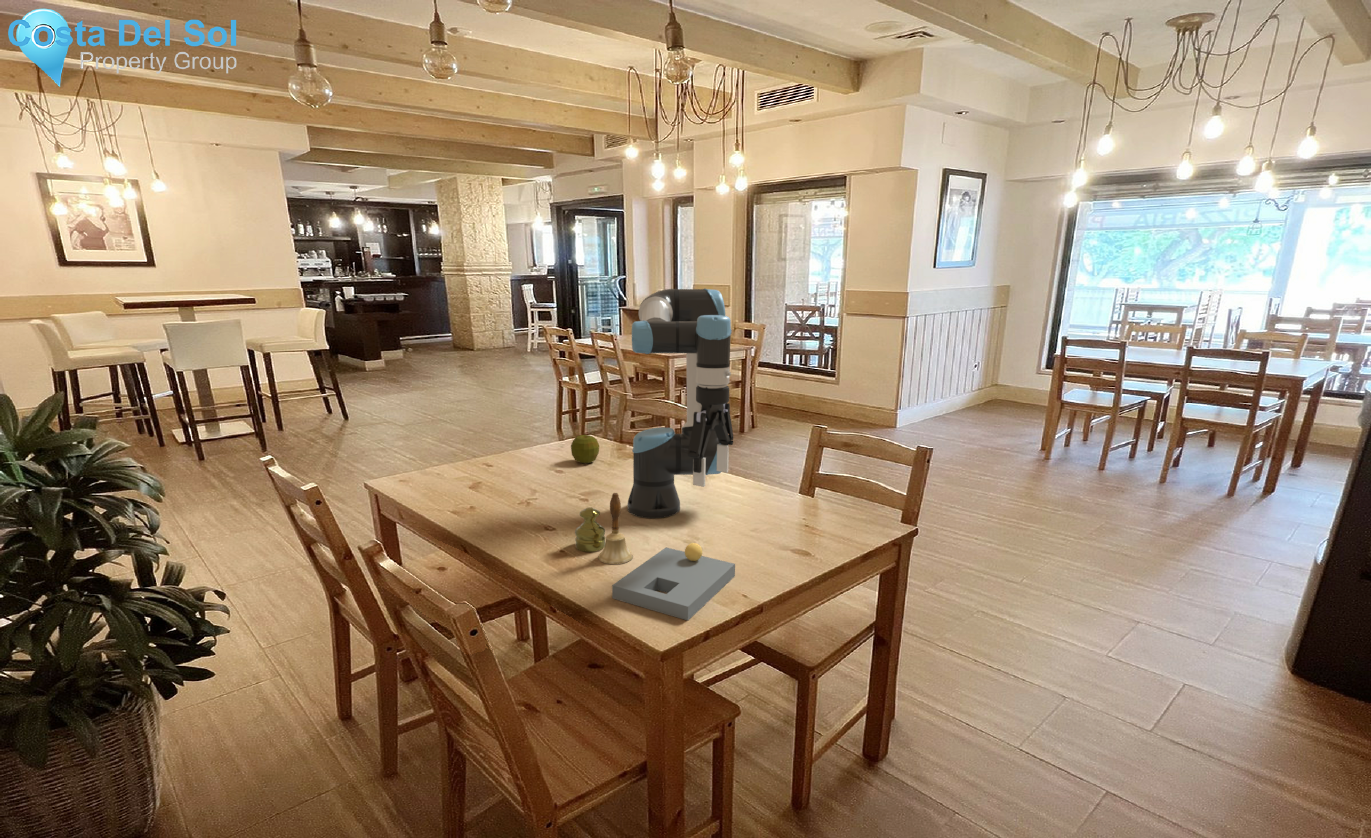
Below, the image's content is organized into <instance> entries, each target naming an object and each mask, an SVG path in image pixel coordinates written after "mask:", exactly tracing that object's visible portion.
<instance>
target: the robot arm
mask: <svg viewBox="0 0 1371 838" xmlns="http://www.w3.org/2000/svg"><path fill="white" fill-rule="evenodd" d="M638 318H639V320H638V321H633V323H632V324H631V350H632V352H633V353H636V354H645V355H649V354H686V355H685V356H686V357H685V358H686V361H685V362H686V363H685V364H686V422H685V423H684V424H683V425H682V426H681V433H676V432H675V429H674V428H672V427H664V426H663V427H660V426H659V427H653V428H648V429H644V430H642V431H639V432H637V434H635V436H634V437H633V441H632V444H633V445H632V446H633V447H632V453H633V456H632V457H633V459H632V460H633V462H632V463H633V465H632V466H633V467H632V468H633V469H632V470H633V471H632V472H633V484H632V487H631V491H630V494H629V496H628V500H627V511H628V513H630V514H631V515H633V516H635V517H640V518H646V519H661V518H663V519H664V518H668V517H671V516H674V515H676V514H678V513H679V512H680V510H681V500H680V498H679V494H678V492H677V487H676V484H675V476H677V475H679V476H682V475H683V476H684V475H685V476H691V475H692V485H693V486H698V487H703V488H704V487H706V476H708V475H718V474H721V473H729V459H730V457H729V456H730V454H729V453H730V450H729V449H730V448H729V447H730V446H733V445H734V433H733V425H732V419H731V418H732V417H731V404H730V403H729V402H730V386H729V384H730V377H731V376H732V372H731V370H730V367H731V363H730V359H731V336H732V327H731V324H732V323H731V318H730V317H729V316H727V315H726V307H725V302H724V297H723V295H722V293H721V291H719V290H718V289H709V288H708V289H707V288H666V289H663V290H658V291H656V292H654V293H651V294H649V295H647V296H646V297H645V298H644V299H643V300H642V302H641V303H640V305H639V309H638Z"/></svg>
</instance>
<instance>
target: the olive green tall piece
mask: <svg viewBox="0 0 1371 838" xmlns="http://www.w3.org/2000/svg"><path fill="white" fill-rule="evenodd" d="M600 514H601V512H600V510H598V509H597V508H595V507H590V506H588V507H586V508H584V509H582V510H581V511H579V516H580V518H583V520H584V521H583V522H582V523H581V524H580V525H579V526H577V527H576V529H575V531H574V534H575V539H574V541H575V548H576V549H577V550H578V551H580V552H586V553H593V552H597V551H598V552H599V551H601V550H603V549H604V547H605V542H606V536H605V534H606V528H605V527H604V526H603V525H601V524H600V523H599V522H597V520H596V519H597V518H598V517H599V516H600Z"/></svg>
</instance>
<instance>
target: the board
mask: <svg viewBox="0 0 1371 838" xmlns="http://www.w3.org/2000/svg"><path fill="white" fill-rule="evenodd" d="M735 577H736V563H733V562H730V561H725V560H720V559H717V558H712V557H708V556H705V555H704V556H703V555H702V556H701V558H700V559H699V560H697V561H691V560H689V559H687V557H686V556H685V550H684V551H682V550H680V549H675V548H671V547H664V548H662V550H660V551H658V552H657V553H655V554H654V555H653V556H652V557H650V558H649V559H647V560H646V561H644V562H643V563H642V564H640V565H639V566H637V567H636V568H635V569H633V570H632V571H630V572H628V573H627V574H626V575H625V576H623V577H622V578H620V579H619V580H617V581H616V582H614V583H613V584H612V585H611V587H612V588H611V589H612V590H611V591H612V593H611V595H612V599H613V600H617V601H619V602H620V601H621V602H624V603H627V604H629V605H630V604H631V605H633V606H638V607H640V608H644V609H647V610H651V611H654V612H657V613H659V614H660V613H662V614H664V615H667V616H671V617H675V618H676V619H677V618H678V619H681V620H683V621H684V620H685V621H690V620H691V619H692V617H693V616H695V615H696V614H697V613H698V612H699V611H700V610H701V609H702V608H703V607H704V606H705V605H706V604H707V603H708V602H710V600H711V599H712V598H714V597H715V596H716V595H717V594H718V593H719V592H720V591H721V590H722V589H723V588H724V587H725V586H727V584H729V582H730V581H731V580H733V579H734V578H735ZM659 591H660V592H659Z"/></svg>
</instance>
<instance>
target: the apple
mask: <svg viewBox="0 0 1371 838" xmlns="http://www.w3.org/2000/svg"><path fill="white" fill-rule="evenodd" d="M570 444H571V445H570V450H571V456H572V458H573V459H574V460H575V462H578V463H580V464H585V463H586V464H590V463H593V462H595V461H596V460H597V457H598V455H599V452H600V444H599V441H598V440H597V438H595V436H592V435H589V434H588V435H587V434H586V433H585V432H584V434H581V435H577V436H576V437H575V438H574V439H573V440H572V442H571V443H570Z"/></svg>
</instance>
